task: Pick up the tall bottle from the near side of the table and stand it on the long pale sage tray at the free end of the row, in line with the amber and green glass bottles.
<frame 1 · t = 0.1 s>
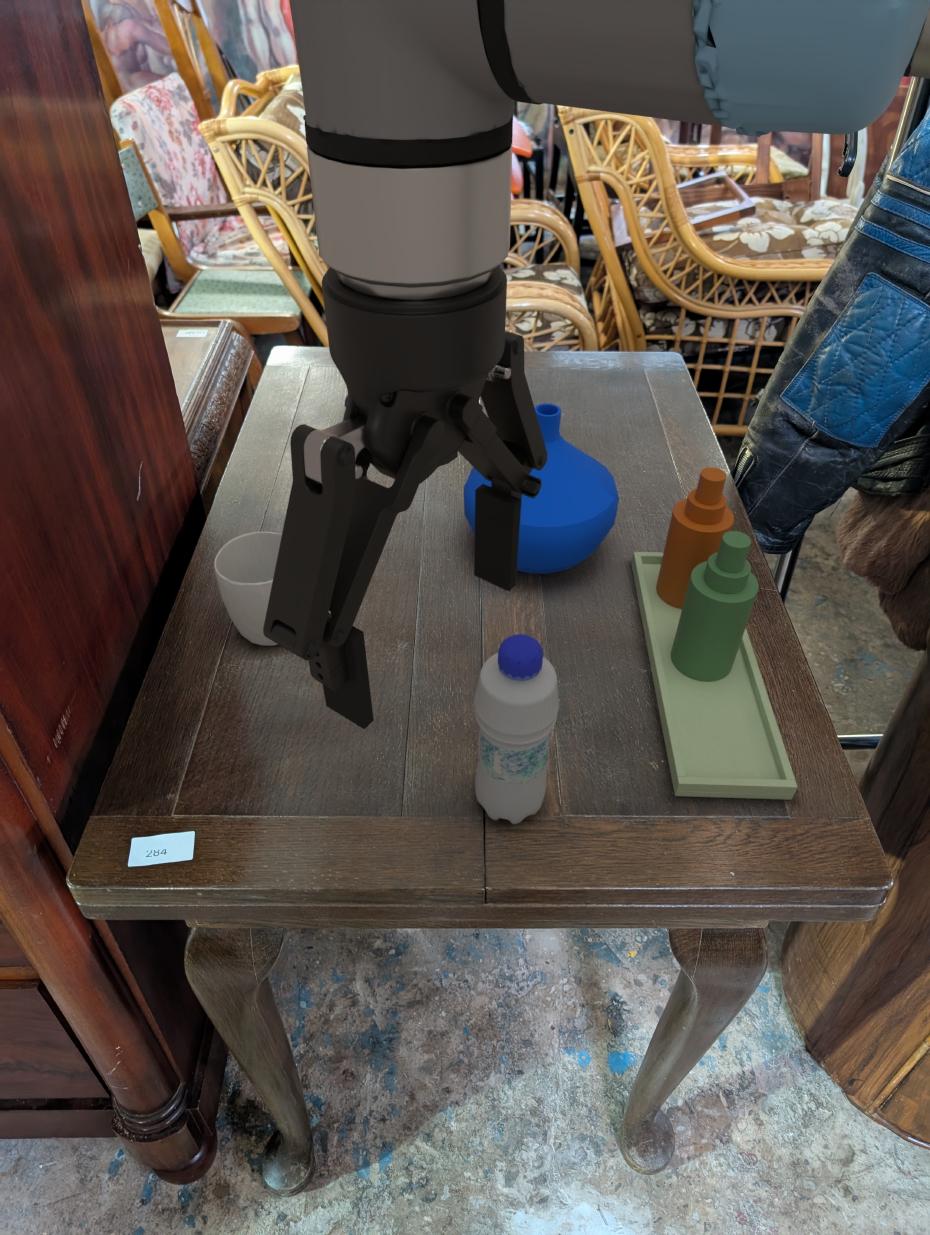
hand: (428, 641, 46), 29 cm above the table, tool pointing down, fingers open, 13 cm apart
tray: (699, 664, 85), on the table
vase: (536, 550, 99), on the table
green bottle: (701, 659, 84), resting on tray
bowl: (409, 425, 122), on the table
bottle: (509, 801, 72), on the table
mug: (274, 616, 90), on the table
amber bottle: (683, 591, 92), resting on tray
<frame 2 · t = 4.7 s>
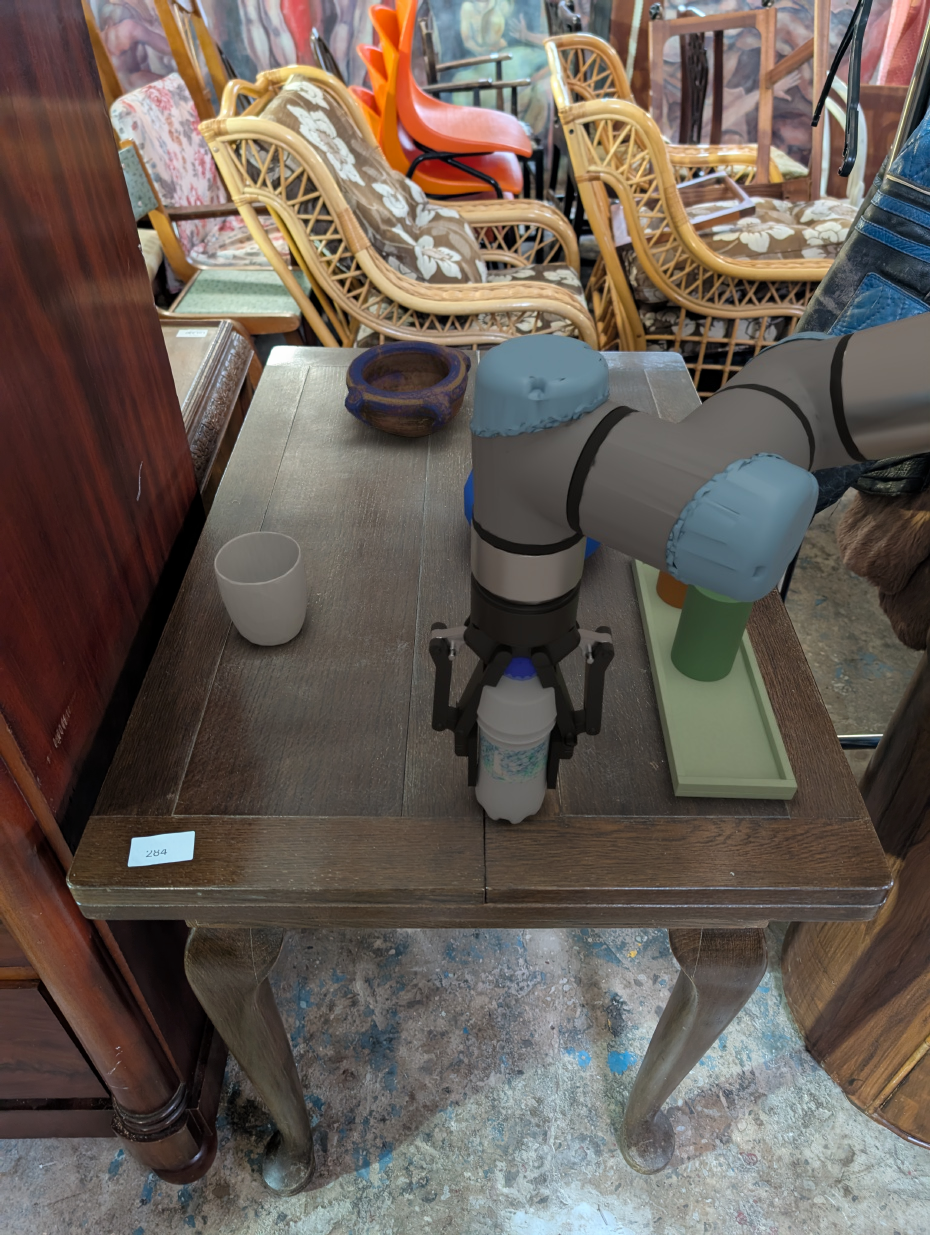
hand: (511, 774, 69), 4 cm above the table, tool pointing down, fingers closed on bottle, 6 cm apart
bottle: (509, 801, 72), on the table, touching gripper
everything else where it was.
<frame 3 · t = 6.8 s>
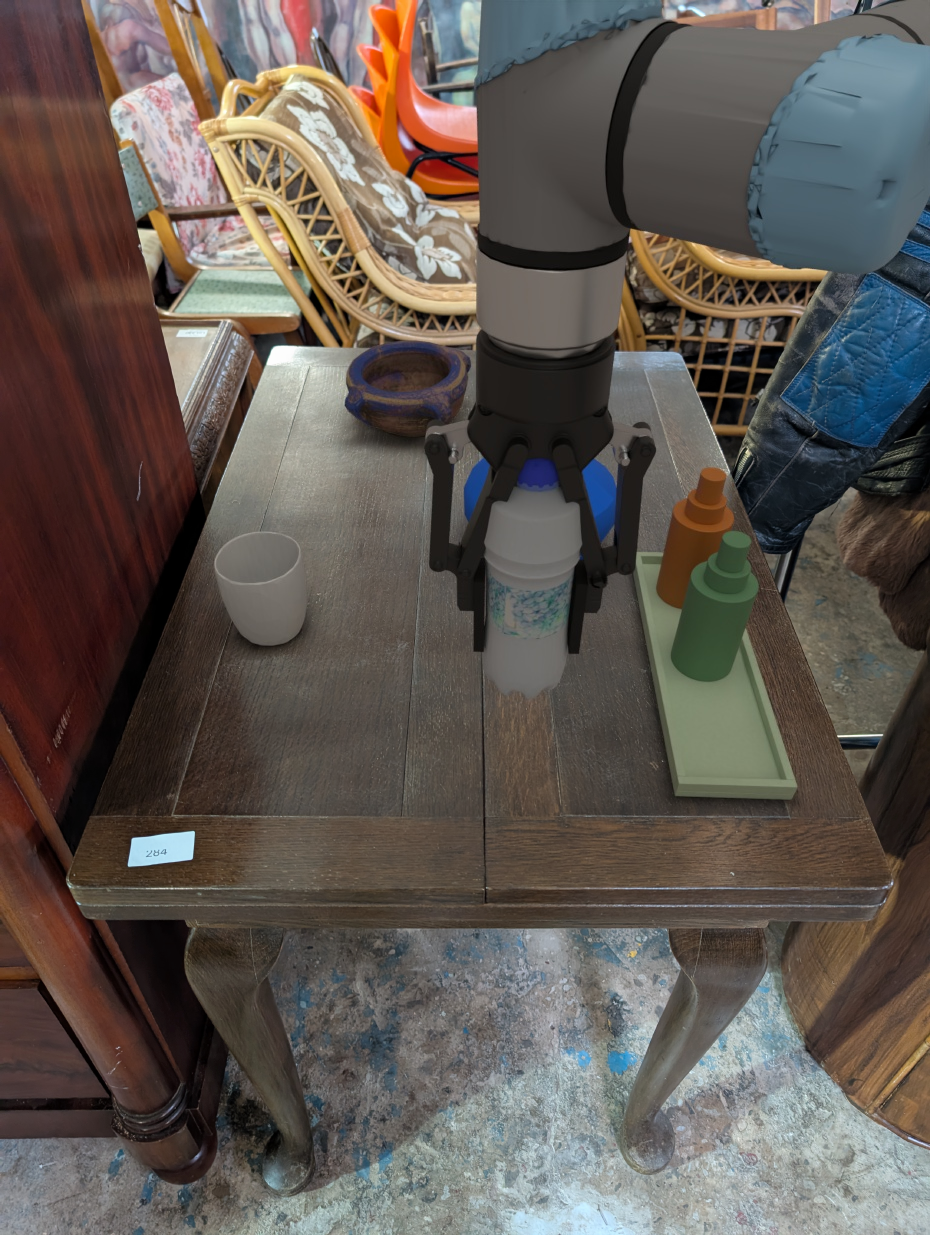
hand: (525, 639, 58), 21 cm above the table, tool pointing down, fingers closed on bottle, 6 cm apart
bottle: (522, 678, 61), point 17 cm above the table, touching gripper
everything else where it was.
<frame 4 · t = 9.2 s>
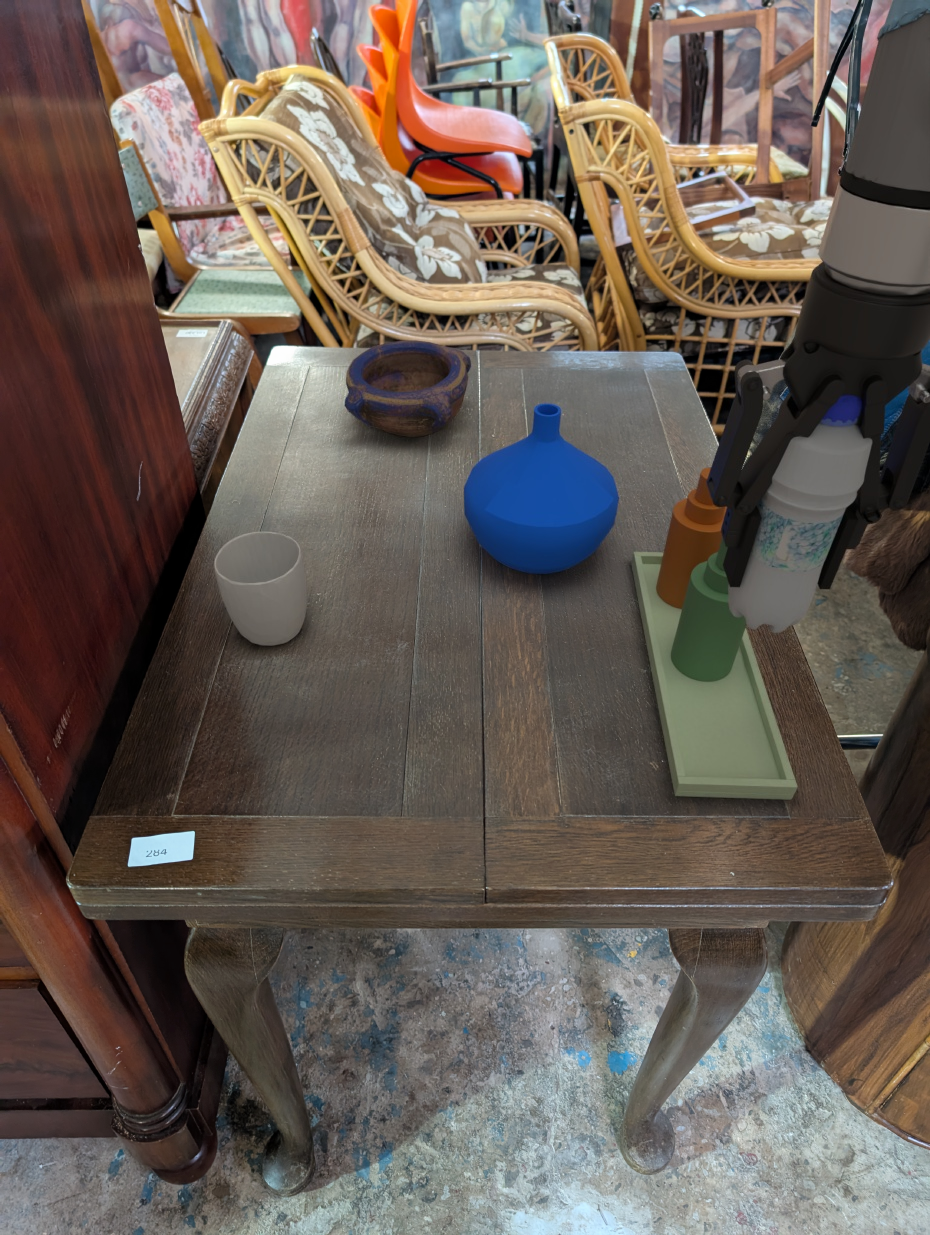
hand: (775, 576, 62), 22 cm above the table, tool pointing down, fingers closed on bottle, 6 cm apart
bottle: (761, 614, 64), point 18 cm above the table, touching gripper
everything else where it was.
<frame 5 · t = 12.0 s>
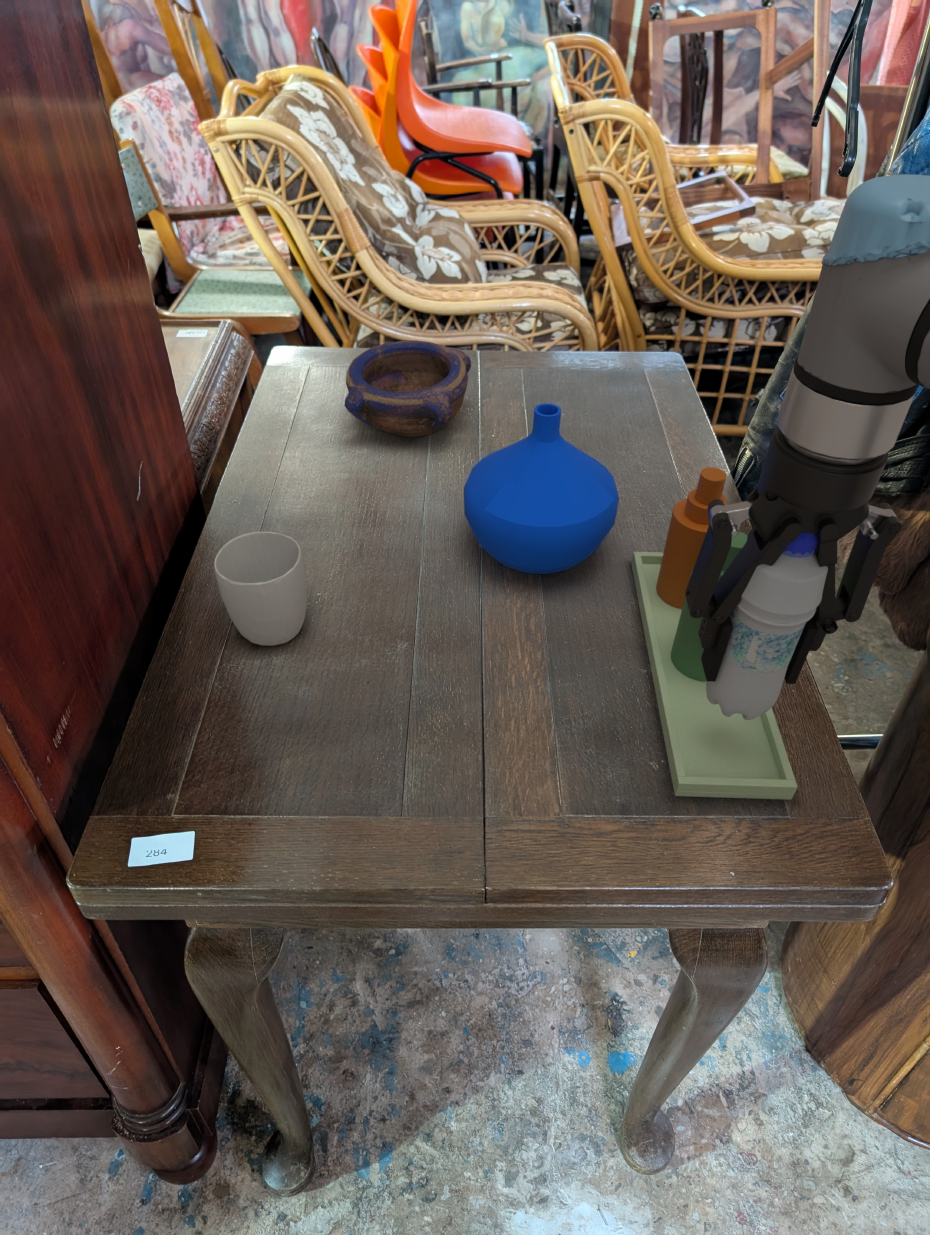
hand: (747, 670, 69), 11 cm above the table, tool pointing down, fingers closed on bottle, 6 cm apart
bottle: (735, 701, 72), point 7 cm above the table, touching gripper
everything else where it was.
when the fingers open (5 cm above the table, at t = 14.1 s): bottle stays where it is, resting on tray.
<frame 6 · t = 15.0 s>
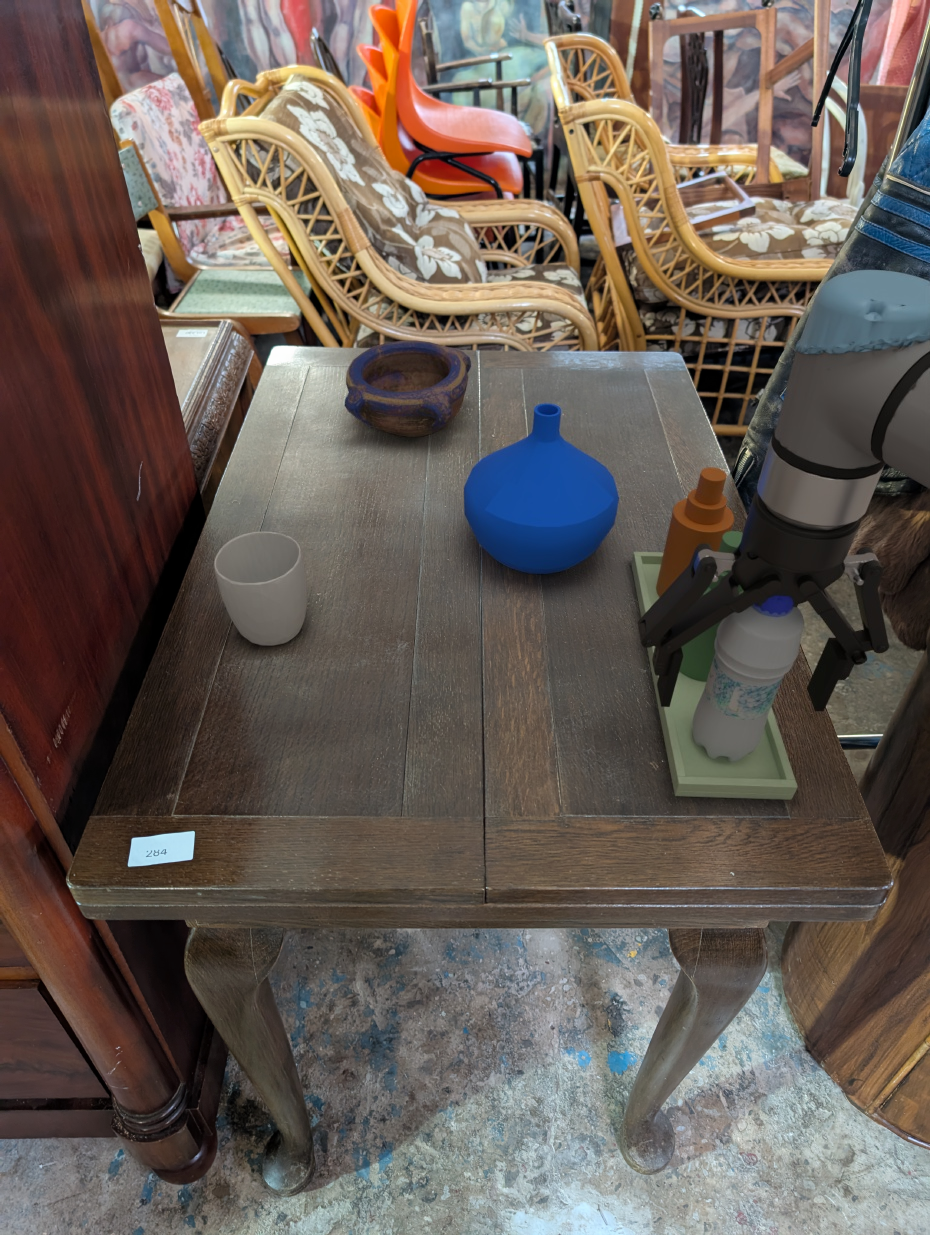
hand: (738, 698, 72), 7 cm above the table, tool pointing down, fingers open, 13 cm apart
bottle: (720, 742, 76), point 1 cm above the table, touching tray
everything else where it was.
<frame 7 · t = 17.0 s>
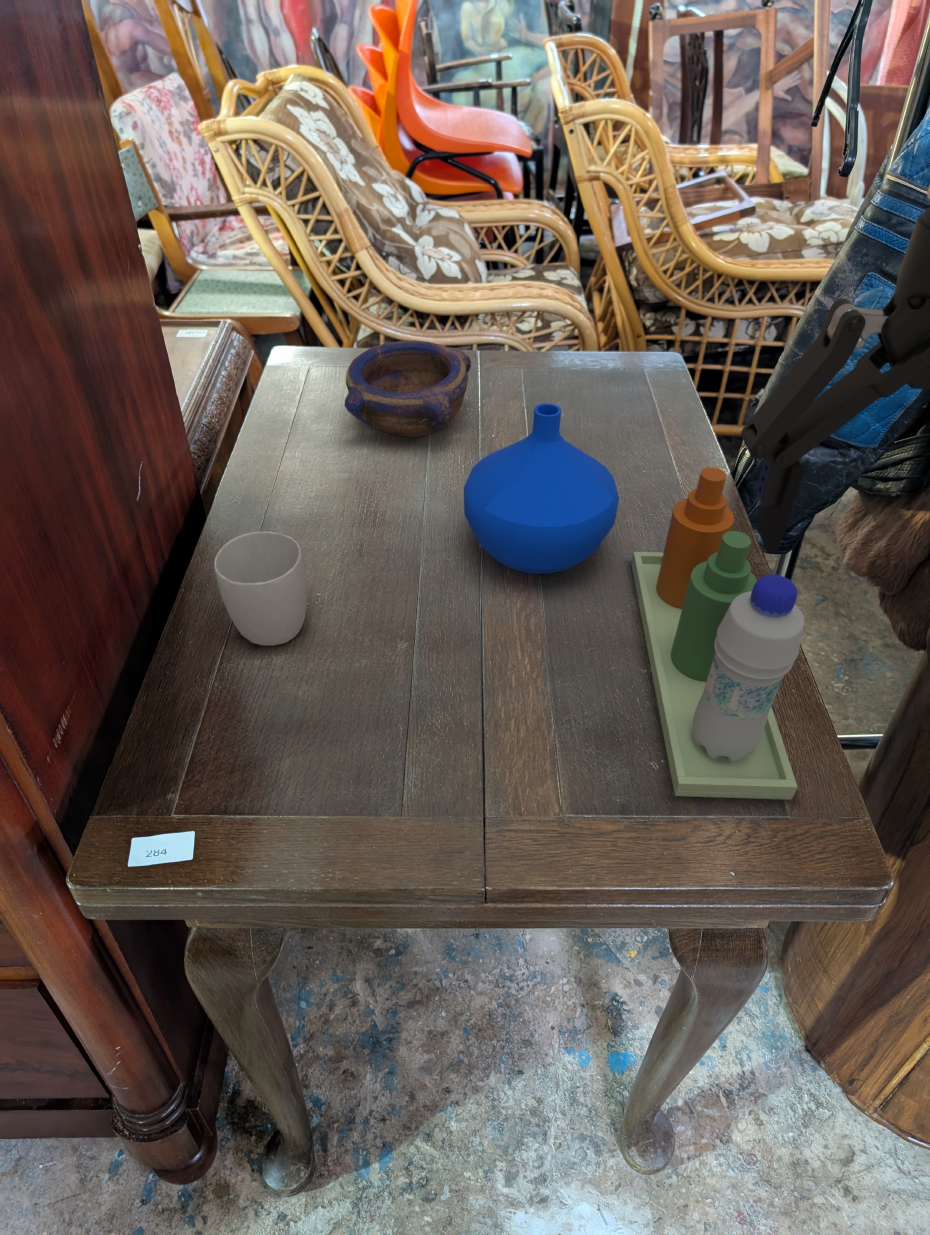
hand: (864, 542, 56), 27 cm above the table, tool pointing down, fingers open, 13 cm apart
nothing on the table moved.
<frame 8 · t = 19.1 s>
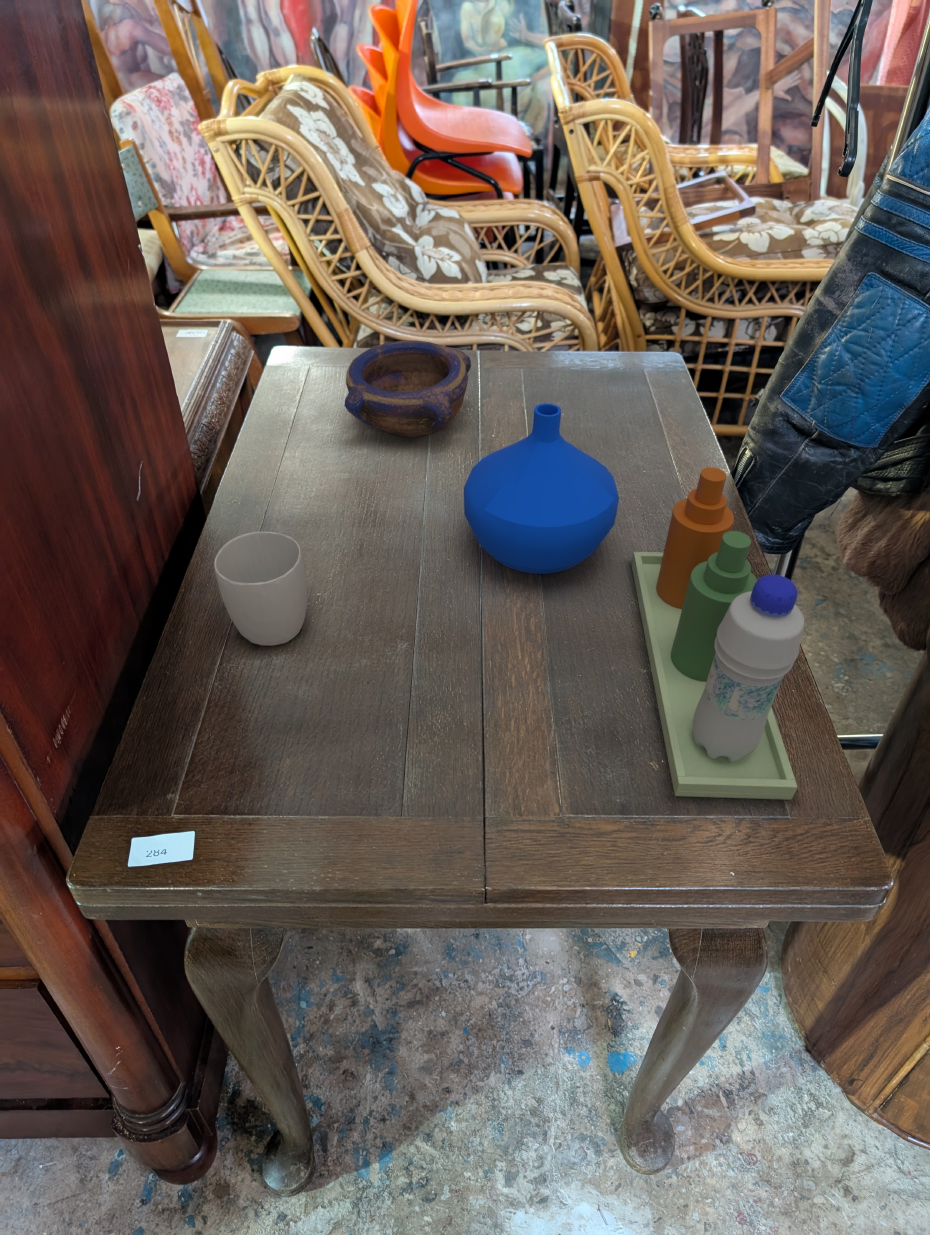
nothing on the table moved.
at the end: bottle 0.1 cm from the target spot on the table beside the amber bottle, resting on tray; bottle 0.3 cm from the target spot in the tray, point 0.6 cm above the tray's base; bottle tilted 0° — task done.
